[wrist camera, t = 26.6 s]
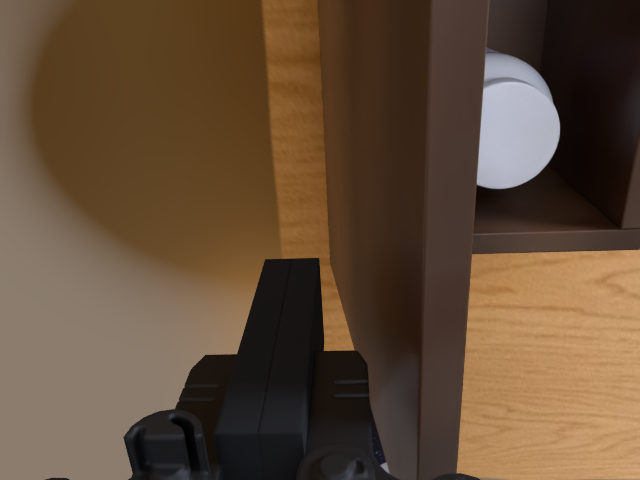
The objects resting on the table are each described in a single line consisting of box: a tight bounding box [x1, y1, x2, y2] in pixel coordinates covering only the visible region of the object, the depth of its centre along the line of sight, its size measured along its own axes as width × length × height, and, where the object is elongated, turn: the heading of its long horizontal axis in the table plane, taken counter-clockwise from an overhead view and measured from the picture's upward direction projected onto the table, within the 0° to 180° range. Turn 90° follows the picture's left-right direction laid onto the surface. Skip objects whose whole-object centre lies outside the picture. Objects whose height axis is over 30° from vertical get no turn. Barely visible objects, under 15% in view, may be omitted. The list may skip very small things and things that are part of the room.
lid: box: [318, 0, 490, 480], centre depth 14 cm, size 14×18×1 cm
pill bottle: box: [477, 46, 560, 189], centre depth 29 cm, size 6×6×11 cm
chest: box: [472, 0, 640, 254], centre depth 27 cm, size 13×18×14 cm
